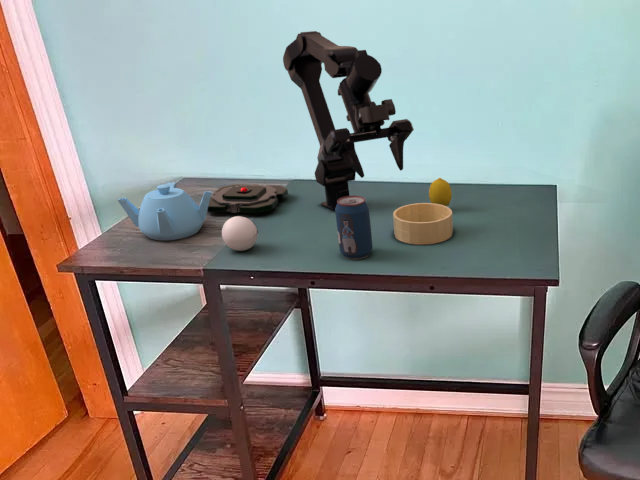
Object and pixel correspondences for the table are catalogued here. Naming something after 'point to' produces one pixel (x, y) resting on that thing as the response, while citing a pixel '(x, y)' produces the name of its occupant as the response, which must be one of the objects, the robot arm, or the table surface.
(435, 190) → the lemon
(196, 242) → the table surface
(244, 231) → the white ball
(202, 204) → the teapot
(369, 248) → the soda can
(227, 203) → the dark brown layered slab
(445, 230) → the cream yellow bowl
